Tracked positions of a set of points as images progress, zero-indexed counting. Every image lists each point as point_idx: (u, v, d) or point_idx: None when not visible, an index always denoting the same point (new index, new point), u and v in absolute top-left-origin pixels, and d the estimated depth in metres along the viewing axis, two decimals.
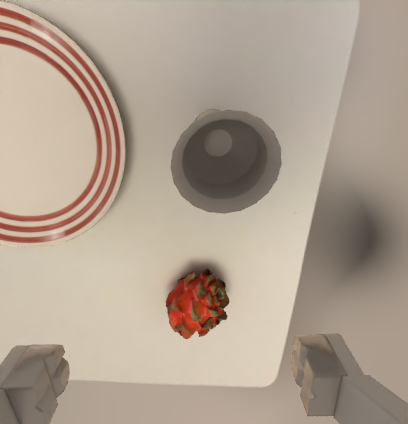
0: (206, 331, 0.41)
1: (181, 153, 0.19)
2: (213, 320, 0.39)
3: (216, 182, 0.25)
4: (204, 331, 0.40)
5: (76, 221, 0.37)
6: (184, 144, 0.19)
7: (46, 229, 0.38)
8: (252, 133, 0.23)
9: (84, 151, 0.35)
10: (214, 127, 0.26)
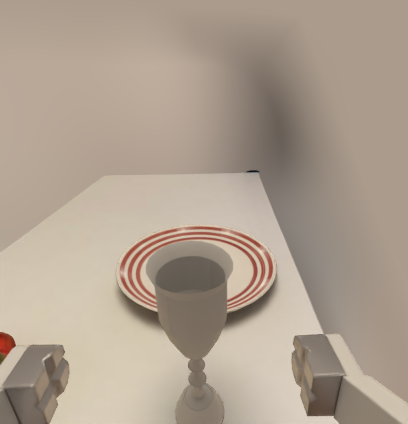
0: None
1: (198, 253, 0.26)
2: None
3: None
4: None
5: (130, 286, 0.45)
6: (205, 253, 0.25)
7: (128, 271, 0.49)
8: (209, 337, 0.22)
9: None
10: None
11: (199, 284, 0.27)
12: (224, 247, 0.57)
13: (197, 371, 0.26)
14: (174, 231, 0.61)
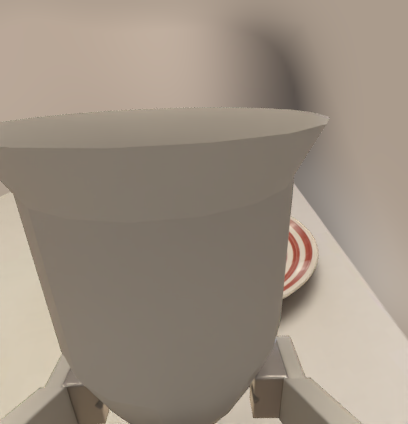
0: None
1: (192, 139, 0.09)
2: None
3: None
4: None
5: None
6: (211, 137, 0.09)
7: None
8: None
9: None
10: None
11: None
12: None
13: None
14: None
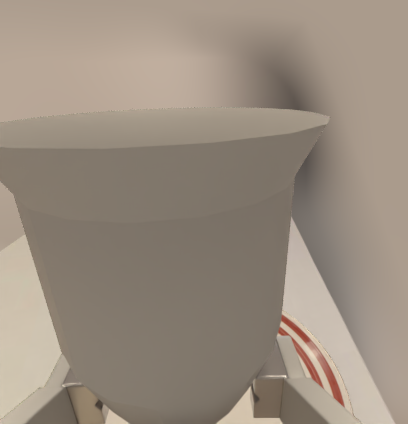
0: None
1: (192, 139, 0.09)
2: None
3: None
4: None
5: None
6: (211, 137, 0.09)
7: None
8: None
9: None
10: None
11: None
12: None
13: None
14: None
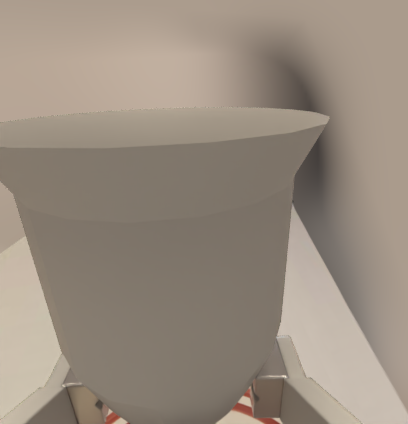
0: None
1: (192, 139, 0.09)
2: None
3: None
4: None
5: None
6: (211, 137, 0.09)
7: None
8: None
9: None
10: None
11: None
12: None
13: None
14: None
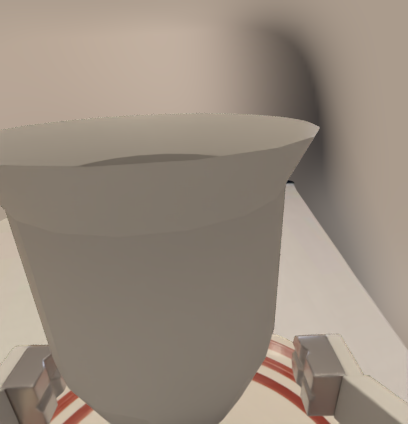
0: None
1: (186, 145, 0.09)
2: None
3: None
4: None
5: None
6: (205, 143, 0.09)
7: None
8: None
9: None
10: None
11: None
12: (273, 411, 0.20)
13: None
14: None
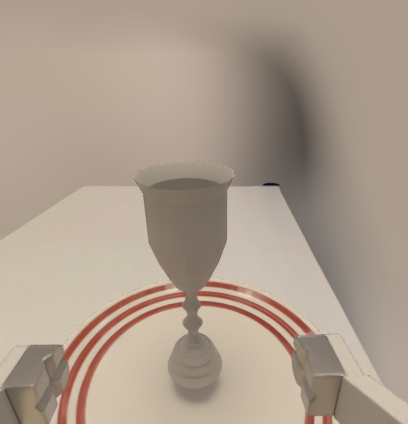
0: None
1: (195, 174, 0.23)
2: None
3: None
4: None
5: None
6: (202, 174, 0.22)
7: (64, 391, 0.25)
8: None
9: None
10: None
11: None
12: (244, 325, 0.34)
13: (192, 310, 0.23)
14: (161, 290, 0.38)
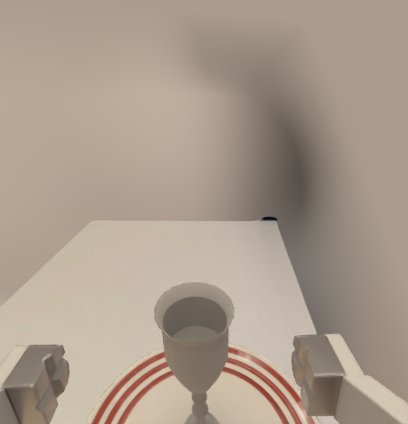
0: None
1: (201, 294, 0.28)
2: None
3: None
4: None
5: None
6: (208, 295, 0.27)
7: None
8: None
9: None
10: None
11: (202, 321, 0.29)
12: (243, 391, 0.39)
13: (200, 403, 0.28)
14: None
